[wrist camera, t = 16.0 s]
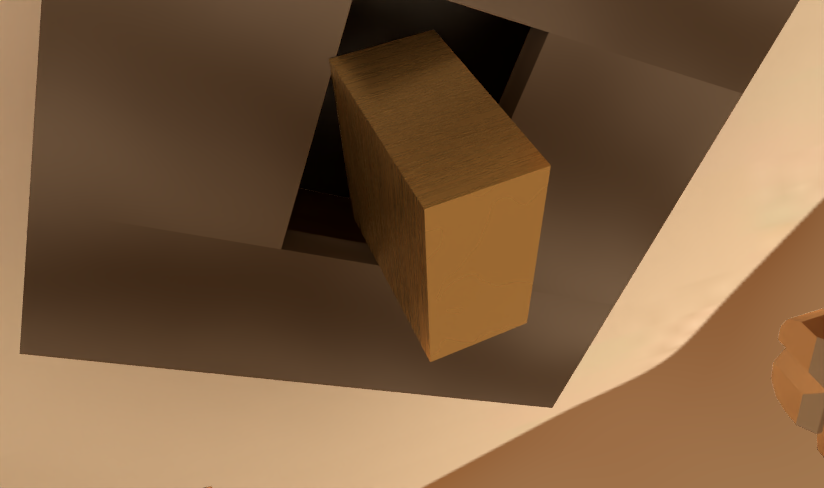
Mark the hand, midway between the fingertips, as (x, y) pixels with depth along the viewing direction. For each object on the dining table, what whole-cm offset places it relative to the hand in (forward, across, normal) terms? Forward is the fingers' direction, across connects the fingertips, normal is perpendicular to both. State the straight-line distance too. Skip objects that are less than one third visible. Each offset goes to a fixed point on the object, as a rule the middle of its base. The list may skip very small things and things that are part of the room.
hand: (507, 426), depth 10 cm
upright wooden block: (+9, 0, 0) cm, 9 cm away
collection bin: (+19, 0, 0) cm, 19 cm away
